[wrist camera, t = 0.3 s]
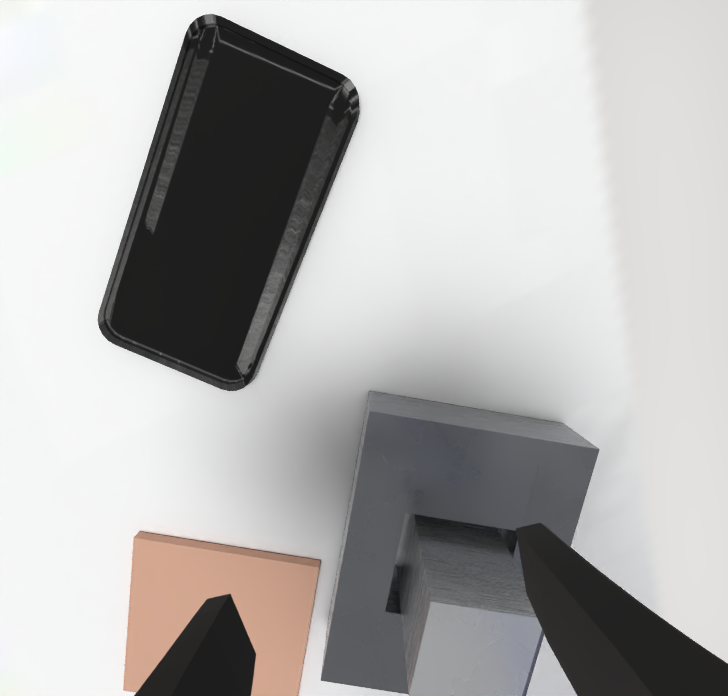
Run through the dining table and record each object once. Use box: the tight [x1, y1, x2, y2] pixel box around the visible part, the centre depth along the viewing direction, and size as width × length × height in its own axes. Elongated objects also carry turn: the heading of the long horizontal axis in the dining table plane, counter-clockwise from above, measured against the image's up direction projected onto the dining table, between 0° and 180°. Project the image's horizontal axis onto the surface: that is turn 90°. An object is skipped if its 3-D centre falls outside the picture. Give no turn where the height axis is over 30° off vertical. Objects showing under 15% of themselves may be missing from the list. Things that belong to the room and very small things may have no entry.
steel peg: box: [396, 513, 542, 696], centre depth 16 cm, size 4×4×7 cm
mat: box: [123, 532, 320, 696], centre depth 21 cm, size 10×10×1 cm
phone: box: [98, 14, 359, 391], centre depth 17 cm, size 8×1×15 cm
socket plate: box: [321, 391, 599, 696], centre depth 18 cm, size 14×10×3 cm
